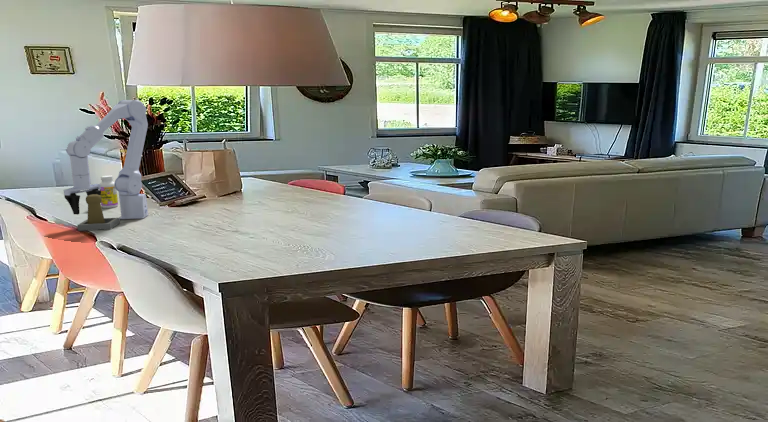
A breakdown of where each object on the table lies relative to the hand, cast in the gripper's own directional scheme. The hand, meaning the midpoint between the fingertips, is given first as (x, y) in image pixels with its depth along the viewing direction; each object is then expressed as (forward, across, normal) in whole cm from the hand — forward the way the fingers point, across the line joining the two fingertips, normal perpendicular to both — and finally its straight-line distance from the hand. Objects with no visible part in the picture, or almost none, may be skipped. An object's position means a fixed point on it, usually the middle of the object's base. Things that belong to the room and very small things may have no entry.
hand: (85, 212), depth 247 cm
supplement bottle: (+5, -32, -23) cm, 40 cm away
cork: (+5, 0, +5) cm, 7 cm away
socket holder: (+5, 0, +6) cm, 8 cm away
